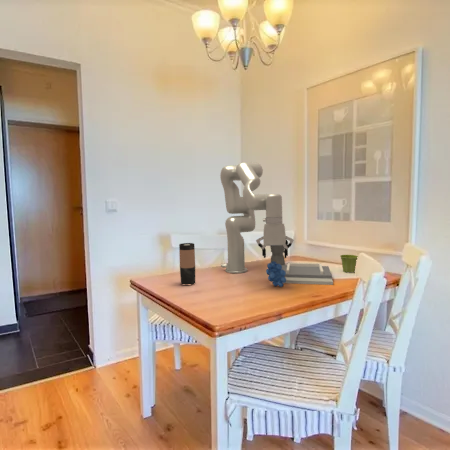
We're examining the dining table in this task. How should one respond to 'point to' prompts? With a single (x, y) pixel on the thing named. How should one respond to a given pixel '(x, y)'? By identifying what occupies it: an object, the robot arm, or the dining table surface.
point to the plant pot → (348, 262)
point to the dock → (307, 273)
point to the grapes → (276, 274)
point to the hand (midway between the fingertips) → (275, 257)
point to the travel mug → (187, 263)
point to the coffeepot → (278, 254)
